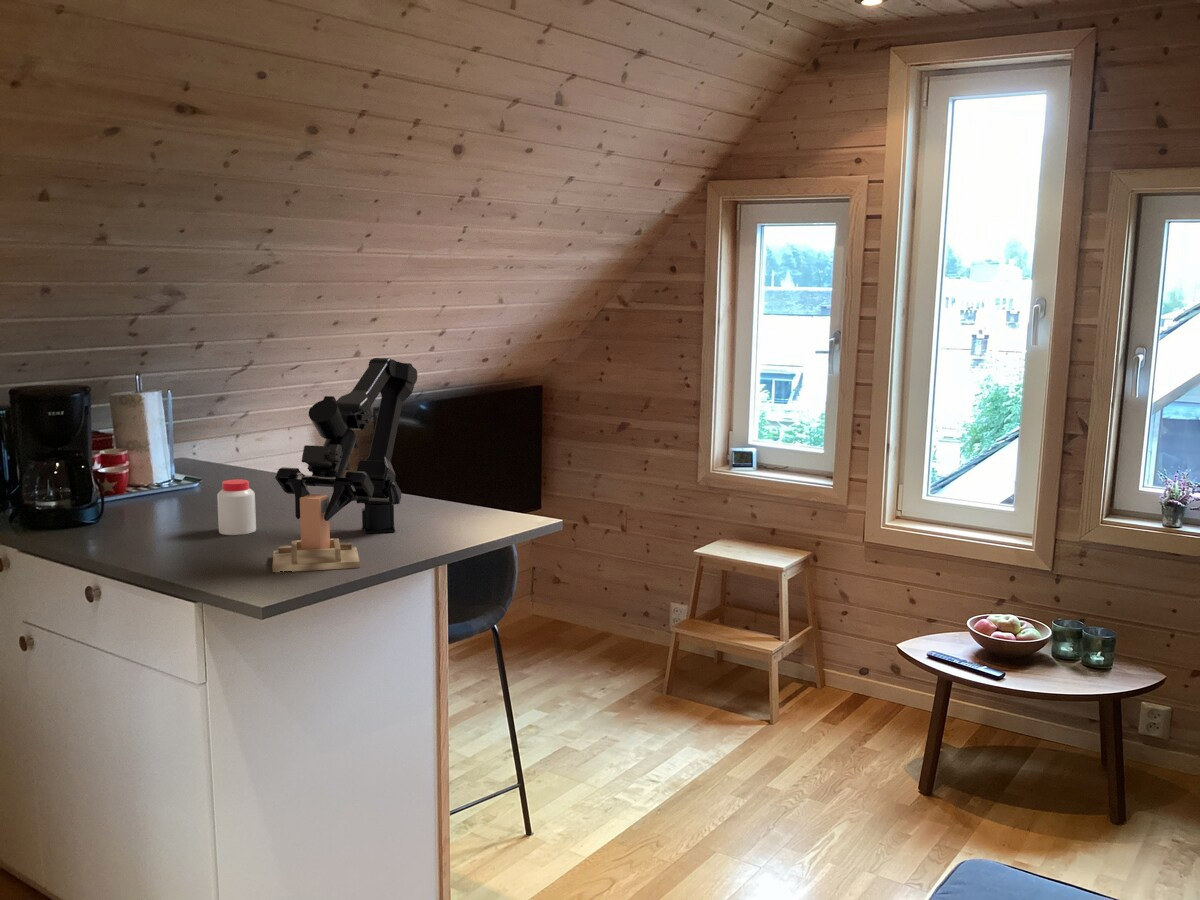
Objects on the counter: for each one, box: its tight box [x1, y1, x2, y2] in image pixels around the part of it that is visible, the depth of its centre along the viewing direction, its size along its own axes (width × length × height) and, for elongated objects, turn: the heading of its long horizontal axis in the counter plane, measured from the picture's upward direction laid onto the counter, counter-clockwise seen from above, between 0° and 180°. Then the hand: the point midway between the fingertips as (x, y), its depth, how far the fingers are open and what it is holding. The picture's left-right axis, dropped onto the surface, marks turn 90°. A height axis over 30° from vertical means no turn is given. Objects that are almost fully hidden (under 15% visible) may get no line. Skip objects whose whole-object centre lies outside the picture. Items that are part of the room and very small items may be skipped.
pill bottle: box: [216, 478, 257, 536], centre depth 233 cm, size 8×8×11 cm
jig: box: [272, 537, 361, 573], centre depth 208 cm, size 16×12×4 cm
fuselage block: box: [299, 493, 331, 550], centre depth 206 cm, size 4×4×12 cm
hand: (311, 518), depth 205 cm, fingers open, 6 cm apart
